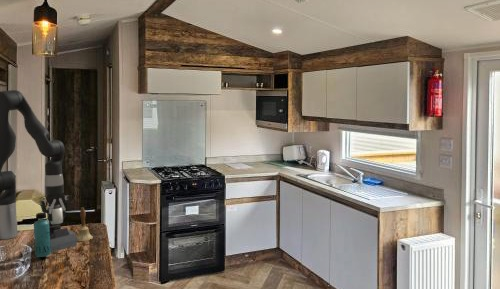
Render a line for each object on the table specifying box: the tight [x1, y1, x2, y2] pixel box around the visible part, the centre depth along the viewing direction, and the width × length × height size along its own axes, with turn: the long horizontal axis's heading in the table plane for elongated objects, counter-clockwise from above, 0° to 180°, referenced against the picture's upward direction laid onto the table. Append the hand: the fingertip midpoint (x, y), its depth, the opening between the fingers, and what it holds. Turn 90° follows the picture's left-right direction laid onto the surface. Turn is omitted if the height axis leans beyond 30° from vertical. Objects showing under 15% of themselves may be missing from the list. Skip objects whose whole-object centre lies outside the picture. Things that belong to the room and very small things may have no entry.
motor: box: [49, 224, 78, 253], centre depth 200 cm, size 17×8×10 cm, turn 138°
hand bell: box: [76, 206, 94, 242], centre depth 213 cm, size 8×8×16 cm
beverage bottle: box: [33, 212, 52, 258], centre depth 188 cm, size 6×7×20 cm
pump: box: [50, 205, 64, 225], centre depth 200 cm, size 5×5×8 cm
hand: (56, 219), depth 200 cm, fingers closed on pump, 5 cm apart
